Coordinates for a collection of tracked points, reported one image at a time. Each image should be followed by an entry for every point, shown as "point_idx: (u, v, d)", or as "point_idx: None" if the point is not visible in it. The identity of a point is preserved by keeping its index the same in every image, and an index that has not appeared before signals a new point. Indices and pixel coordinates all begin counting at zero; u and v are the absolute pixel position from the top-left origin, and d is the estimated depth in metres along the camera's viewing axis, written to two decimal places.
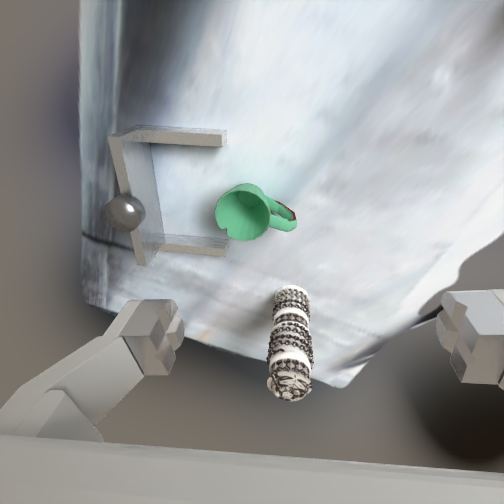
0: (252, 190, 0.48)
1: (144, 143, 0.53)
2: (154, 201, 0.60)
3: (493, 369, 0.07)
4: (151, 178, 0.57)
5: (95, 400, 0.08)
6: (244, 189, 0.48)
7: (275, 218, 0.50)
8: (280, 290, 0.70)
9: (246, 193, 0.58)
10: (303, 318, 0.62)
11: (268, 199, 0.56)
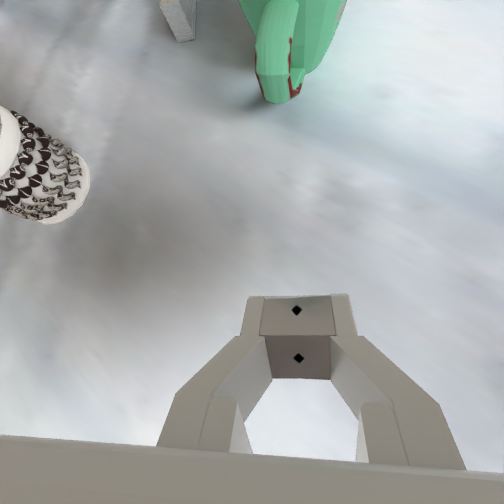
0: None
1: None
2: None
3: (321, 366, 0.08)
4: None
5: (239, 407, 0.07)
6: None
7: (291, 9, 0.18)
8: (76, 157, 0.31)
9: None
10: None
11: (300, 74, 0.26)
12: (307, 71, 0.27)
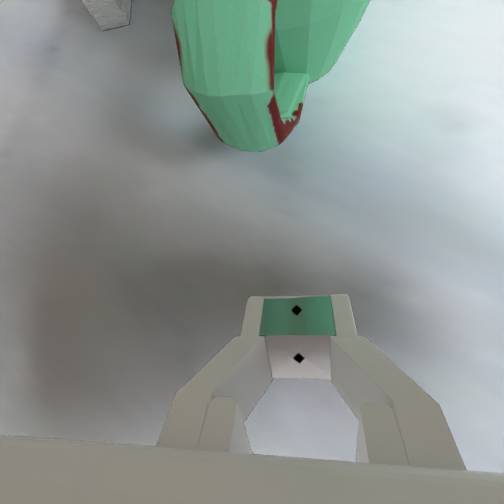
0: None
1: None
2: None
3: (321, 366, 0.08)
4: None
5: (239, 407, 0.07)
6: None
7: None
8: None
9: None
10: None
11: (300, 84, 0.14)
12: (312, 79, 0.15)
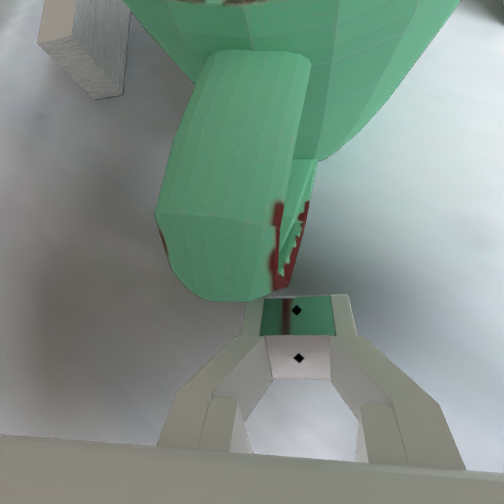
0: None
1: None
2: None
3: (321, 366, 0.08)
4: None
5: (239, 407, 0.07)
6: None
7: (286, 88, 0.05)
8: None
9: None
10: None
11: (307, 175, 0.13)
12: (320, 159, 0.14)
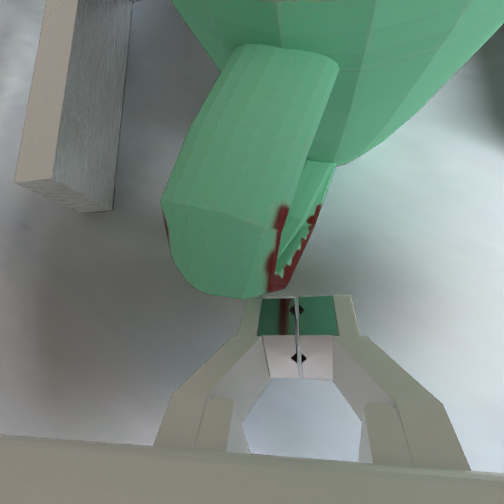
0: None
1: None
2: None
3: (323, 366, 0.08)
4: None
5: (237, 407, 0.07)
6: None
7: (308, 90, 0.05)
8: None
9: None
10: None
11: (323, 179, 0.12)
12: (339, 164, 0.14)
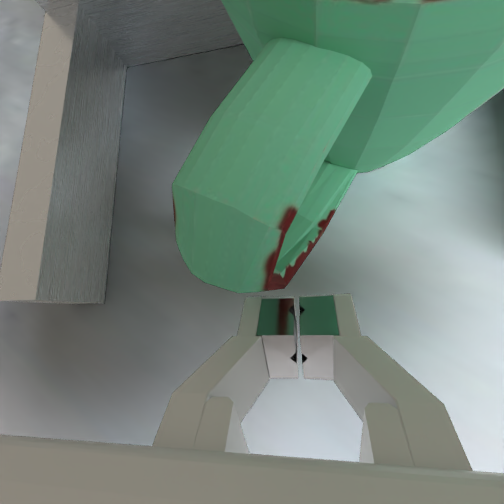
0: None
1: None
2: None
3: (324, 366, 0.08)
4: None
5: (236, 407, 0.07)
6: None
7: (336, 94, 0.05)
8: None
9: None
10: None
11: (342, 184, 0.12)
12: (361, 171, 0.14)
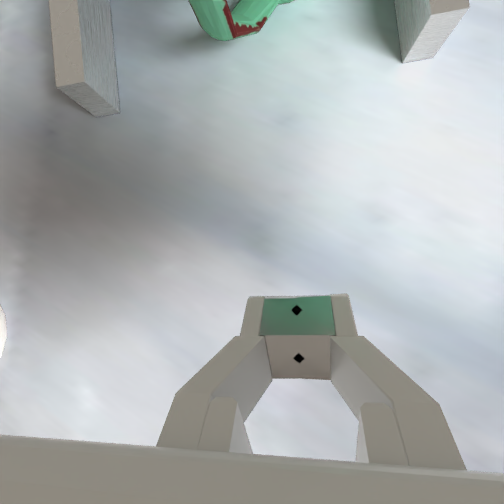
0: None
1: None
2: None
3: (321, 366, 0.08)
4: None
5: (239, 407, 0.07)
6: None
7: None
8: None
9: None
10: None
11: (271, 3, 0.20)
12: (285, 0, 0.21)
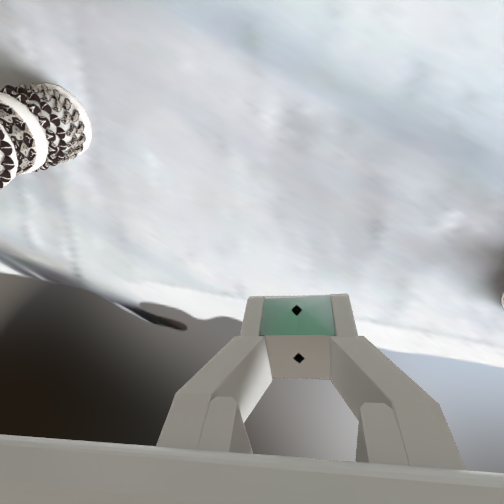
0: None
1: None
2: None
3: (321, 366, 0.08)
4: None
5: (239, 407, 0.07)
6: None
7: None
8: (62, 92, 0.34)
9: None
10: (32, 158, 0.29)
11: None
12: None
